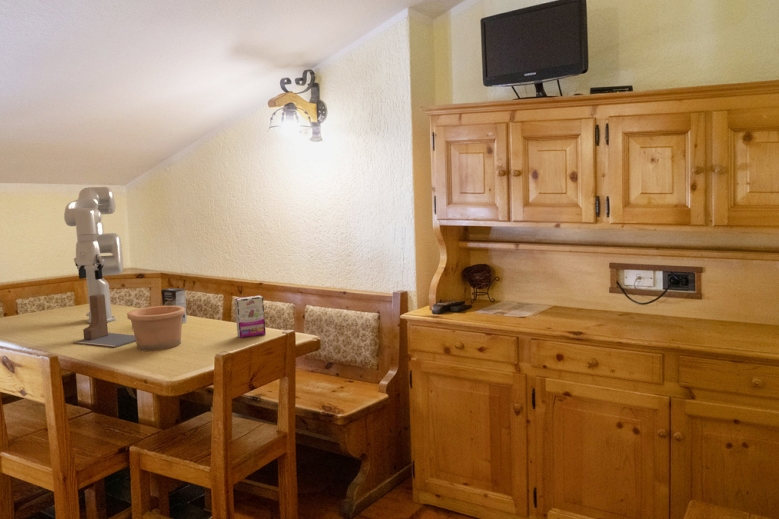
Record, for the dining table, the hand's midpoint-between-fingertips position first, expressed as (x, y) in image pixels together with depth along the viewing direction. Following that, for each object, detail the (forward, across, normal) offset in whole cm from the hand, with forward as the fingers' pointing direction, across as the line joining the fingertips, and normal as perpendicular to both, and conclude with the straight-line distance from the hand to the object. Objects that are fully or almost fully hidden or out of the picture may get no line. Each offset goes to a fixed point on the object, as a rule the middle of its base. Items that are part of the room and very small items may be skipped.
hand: (90, 278), depth 271 cm
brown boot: (+26, 0, 0) cm, 26 cm away
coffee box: (+26, +10, +36) cm, 46 cm away
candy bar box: (+26, +62, +26) cm, 72 cm away
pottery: (+26, +36, 0) cm, 45 cm away
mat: (+26, +9, 0) cm, 28 cm away
